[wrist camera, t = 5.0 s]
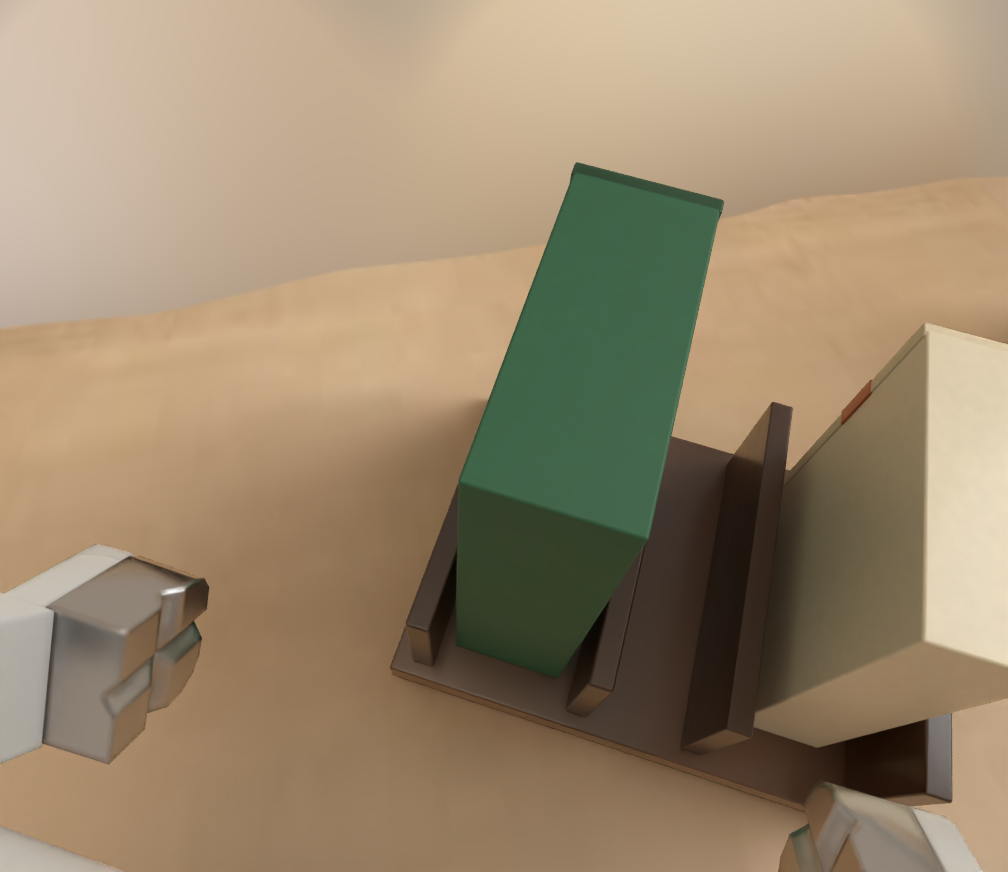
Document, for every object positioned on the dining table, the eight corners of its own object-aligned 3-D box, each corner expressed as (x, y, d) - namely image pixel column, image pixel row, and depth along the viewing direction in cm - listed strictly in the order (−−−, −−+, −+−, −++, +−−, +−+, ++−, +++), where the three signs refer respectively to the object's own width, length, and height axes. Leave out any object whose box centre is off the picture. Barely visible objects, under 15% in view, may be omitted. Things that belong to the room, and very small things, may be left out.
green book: (620, 448, 31) (726, 198, 19) (560, 679, 27) (652, 541, 14) (527, 421, 32) (575, 160, 20) (452, 644, 27) (453, 480, 15)
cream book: (838, 518, 30) (1040, 349, 20) (820, 749, 26) (1068, 685, 16) (764, 497, 31) (924, 318, 20) (733, 721, 26) (919, 640, 16)
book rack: (883, 512, 32) (970, 445, 27) (868, 833, 26) (978, 831, 20) (494, 398, 34) (502, 313, 28) (391, 674, 27) (376, 633, 22)
